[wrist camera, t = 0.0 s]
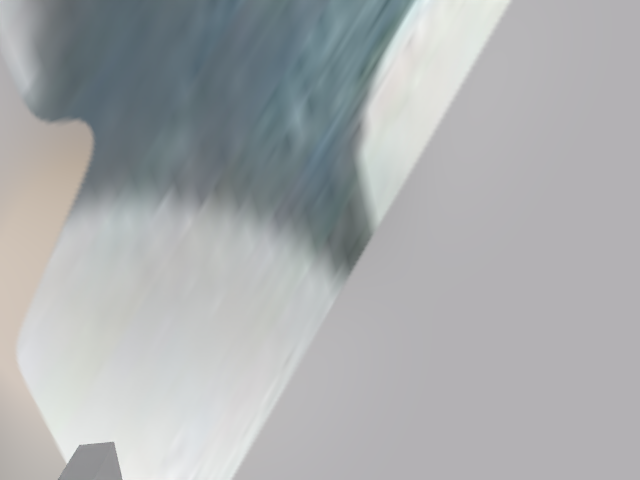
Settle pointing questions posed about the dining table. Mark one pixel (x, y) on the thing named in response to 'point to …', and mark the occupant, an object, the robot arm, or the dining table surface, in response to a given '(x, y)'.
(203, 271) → the dining table surface
